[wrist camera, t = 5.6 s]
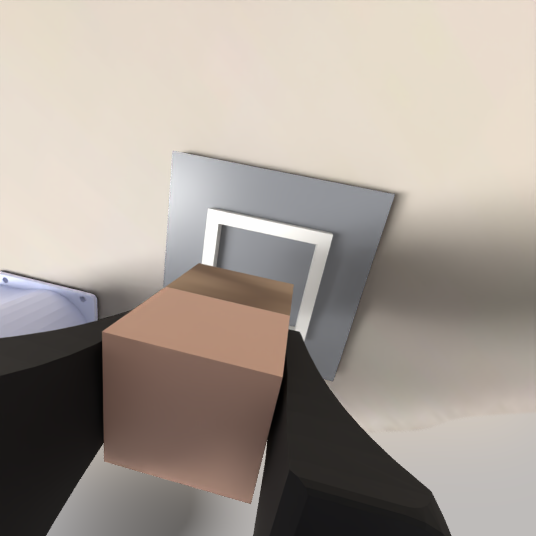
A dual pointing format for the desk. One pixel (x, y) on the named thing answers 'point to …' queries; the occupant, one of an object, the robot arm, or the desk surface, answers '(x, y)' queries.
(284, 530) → the robot arm
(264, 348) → the brick stack
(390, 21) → the desk surface
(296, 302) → the base plate
